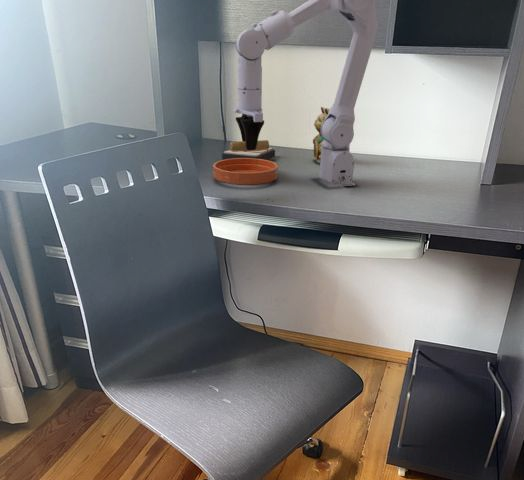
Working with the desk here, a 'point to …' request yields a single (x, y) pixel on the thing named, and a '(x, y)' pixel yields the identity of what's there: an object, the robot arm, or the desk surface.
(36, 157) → the desk surface
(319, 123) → the decorative figurine
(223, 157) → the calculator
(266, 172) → the bowl
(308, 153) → the desk surface
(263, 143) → the cylinder
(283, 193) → the desk surface
